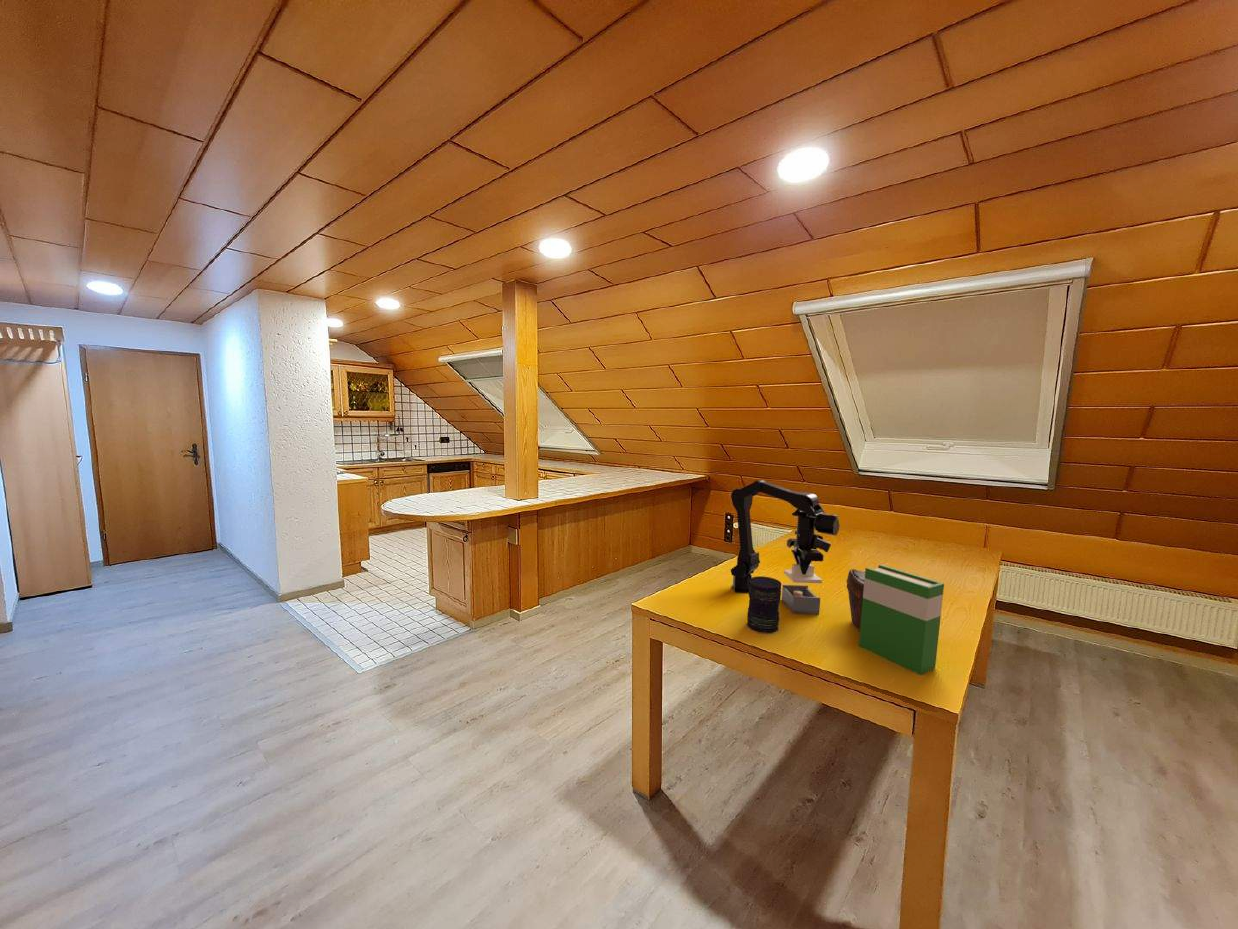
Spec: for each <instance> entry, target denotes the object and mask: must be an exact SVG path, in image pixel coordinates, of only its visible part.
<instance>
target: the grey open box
mask: <svg viewBox="0 0 1238 929" xmlns="http://www.w3.org/2000/svg"><path fill="white" fill-rule="evenodd" d="M781 601H782V602H783V604H784V605H786V607H787V608H788V609H789V611H790V612H791V613H792V614H796V615H798V614H799V615H800V614H801V615H802V614H803V615H820V610H821V597H820V596H817V595H815V594H814V593H813V591H812V590H811V589H809V585H805V584H782V585H781Z"/></svg>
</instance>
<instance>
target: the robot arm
mask: <svg viewBox="0 0 1238 929" xmlns="http://www.w3.org/2000/svg"><path fill="white" fill-rule="evenodd" d="M760 493H762V494H766V495H767V496H770V497H773V498H777V499H779V500H781V501H785V502H786V503H788V504H790V505H791V507H794V508H795V509H796V510H795V511H794V512H792V513H791V515H792V516H795V517H797V522H796V524H797V525H796V530H794V534H795V536H796V537H795V538H789V539H787V541H786V547H787V548H792V547H793V549H791V553H792V555H793V558H794V561H795V564H800V568H801V572H802V574H803V575H805V574H806V572H807V570H808V568H809V565H810V564H812V562H824V558H825V556H824V554H823V553H822V552H821V551H819V550H822V551H824V552H825V553H828V552H829V551H830V547H831V546H832V544H831V543H830V542H829V541H827V540H825V539H824V537H823V535H820V534H826V535H831V536H835V537H836V536H837V535H838V534H839V531H840V526H841V524H840V521H839V518H838V517H839V516H838V515H837V514H830V513H825V510H824V509H823V507H822V506H821V504H820V502H819V498H818V496H817V494H814V493H812V492H811V493H810V492H805V491H797V490H796V491H795V490H791V489H788V488H787V487H783V486H779V485H777V484H774V483H770V482H768V481H766V480H765V479H758V480H755V481H754V482H752V483H750V484H748V485H745V486H744V487H740V488H735V489H733V491H732V492H731V493H730V499H731V504H732V506H733V508H734V510H735V511H736V517H737V519H736V520H737V527H738V528H737V529H738V539H739V540H738V541H739V551H738V554H737V557H736V558H737V559H736V560H737V561H736V565H735V566H734V567H732V568H731V569H730V573H731V576H733V578H732V579H733V580H732V584H731V588H732V589H733V592H735V593H748V594H749V585H750V578H752V576H753V575H752V574H754V572H755V571H756V570H758V568H759V566H760V564H761V560H760V552H756V551H755V549H754V545H753V544H754V543H753V534H752V532H753V531H752V523H751V522H752V521H751V509H752V506H753V498H754V496H756V495H758V494H760ZM815 531H817V533H820V534H816V533H815ZM818 549H819V550H818Z"/></svg>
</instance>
